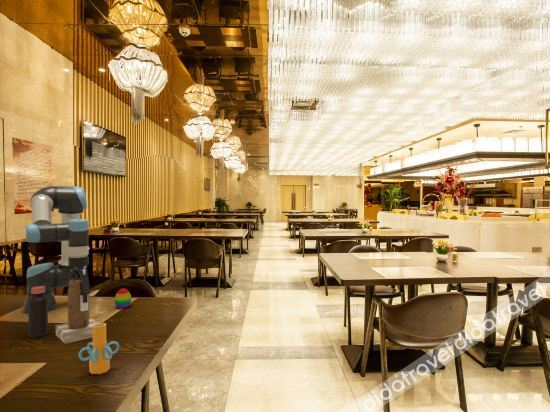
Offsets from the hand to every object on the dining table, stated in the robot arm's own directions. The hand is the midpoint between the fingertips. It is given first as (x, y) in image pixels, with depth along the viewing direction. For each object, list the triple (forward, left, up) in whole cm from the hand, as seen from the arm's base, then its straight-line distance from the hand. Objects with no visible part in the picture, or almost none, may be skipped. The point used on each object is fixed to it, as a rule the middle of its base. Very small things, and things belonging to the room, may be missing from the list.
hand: (78, 307), depth 153 cm
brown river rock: (0, 0, -8) cm, 8 cm away
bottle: (-11, -12, -12) cm, 20 cm away
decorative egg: (-29, +30, -12) cm, 43 cm away
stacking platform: (0, 0, -12) cm, 12 cm away
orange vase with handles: (+41, -6, -12) cm, 43 cm away
